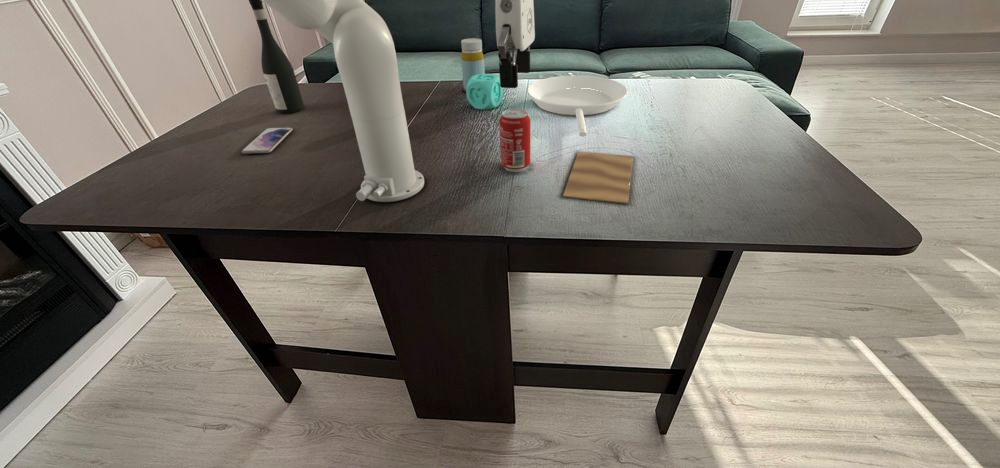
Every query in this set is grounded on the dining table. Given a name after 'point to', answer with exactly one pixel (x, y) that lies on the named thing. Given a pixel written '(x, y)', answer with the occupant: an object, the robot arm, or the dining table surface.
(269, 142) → the smartphone
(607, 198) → the wooden trivet
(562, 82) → the pan
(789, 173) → the dining table surface
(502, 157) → the beverage can
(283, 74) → the wine bottle
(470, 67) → the bottle
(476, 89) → the decorative dice
